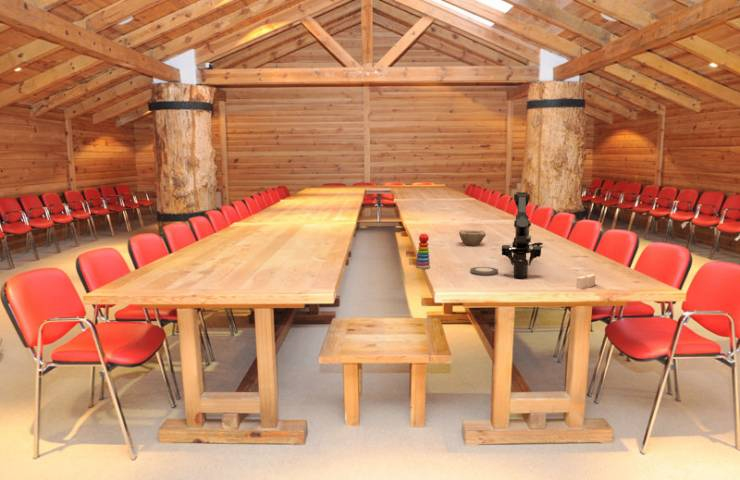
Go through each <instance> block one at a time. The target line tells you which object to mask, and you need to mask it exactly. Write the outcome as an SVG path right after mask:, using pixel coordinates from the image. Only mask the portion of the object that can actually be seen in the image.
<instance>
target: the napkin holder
mask: <svg viewBox="0 0 740 480" xmlns="http://www.w3.org/2000/svg"><path fill="white" fill-rule="evenodd" d="M595 285H596V274H593V273H590V274H587V275H584V276H583V275H581V276H578V277H576V286H575V287H576V289H580V290H582V289H583V290H584V289H585V288H588V289H589V288H591V287H594V286H595Z"/></svg>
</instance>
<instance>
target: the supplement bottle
mask: <svg viewBox="0 0 740 480" xmlns="http://www.w3.org/2000/svg"><path fill="white" fill-rule="evenodd" d="M512 271H513V273H512V274H513V278H515V279H516V280H525V279H527V278H528V277H529V276H528V275H529V259H527V253H526V254H525V253H516V259H515V260H514V263H513V270H512Z"/></svg>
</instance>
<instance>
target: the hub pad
mask: <svg viewBox="0 0 740 480" xmlns="http://www.w3.org/2000/svg"><path fill="white" fill-rule="evenodd" d="M469 272H470V273H471V275H476V276H481V277H490V276H497V275H498V274H499V270H498V269H497V268H494V267H490V266H477V267H476V266H475V267H471V268H470V270H469Z"/></svg>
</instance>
